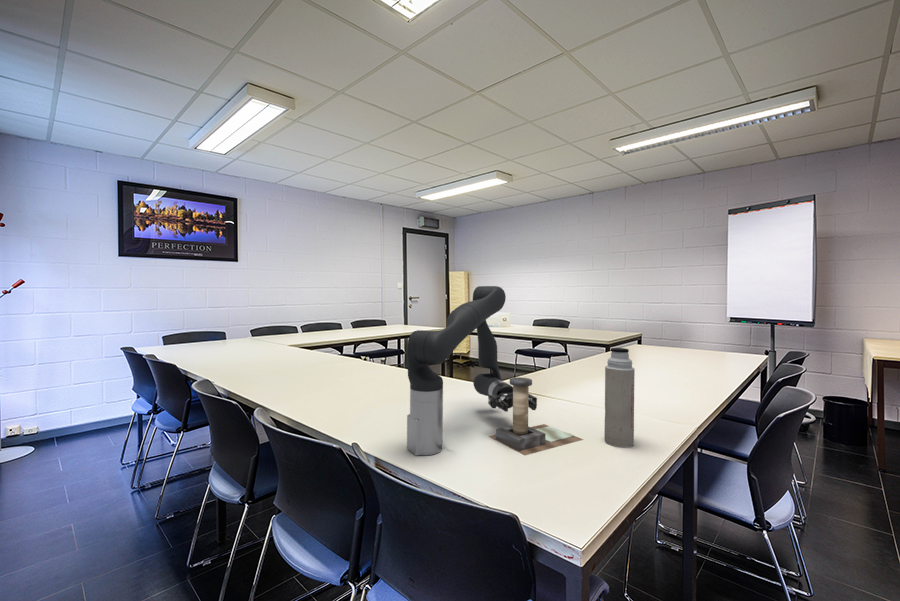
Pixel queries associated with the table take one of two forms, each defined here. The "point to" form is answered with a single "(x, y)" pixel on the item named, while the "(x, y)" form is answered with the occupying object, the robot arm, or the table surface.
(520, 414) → the wheel post
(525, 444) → the board
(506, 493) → the table surface
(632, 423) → the thermos bottle
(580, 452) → the table surface
